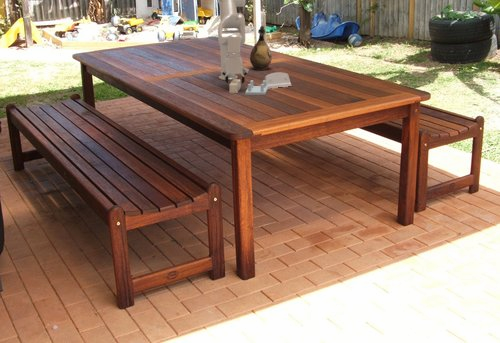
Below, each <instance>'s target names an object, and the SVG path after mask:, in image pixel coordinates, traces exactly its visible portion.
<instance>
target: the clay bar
mask: <svg viewBox="0 0 500 343" xmlns="http://www.w3.org/2000/svg"><path fill="white" fill-rule="evenodd" d="M228 87H229V94H238V92H239V91H240V89H241V87H242V80H241V79H238V78H237V79H233V80H231V82H230V83H229V86H228Z"/></svg>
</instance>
